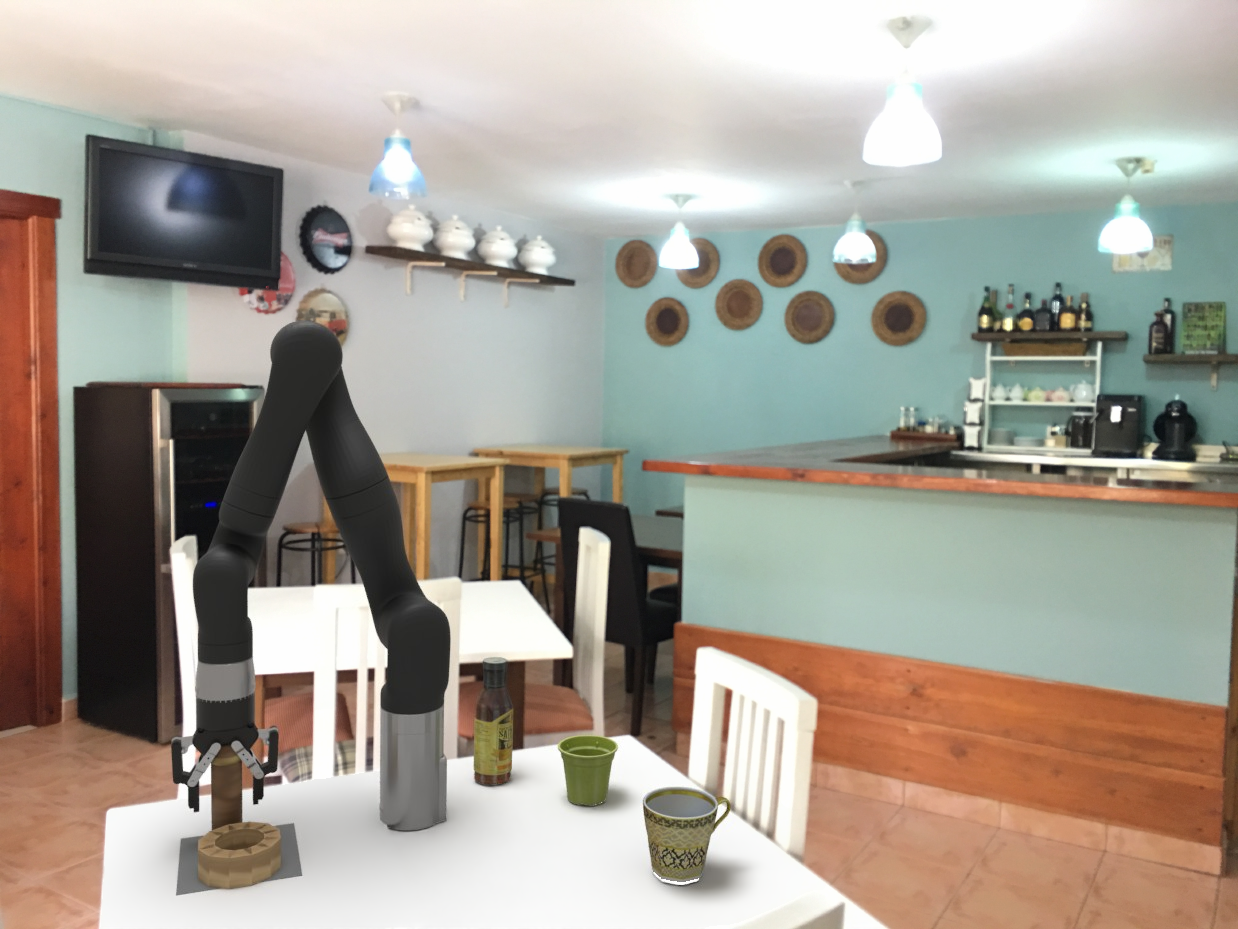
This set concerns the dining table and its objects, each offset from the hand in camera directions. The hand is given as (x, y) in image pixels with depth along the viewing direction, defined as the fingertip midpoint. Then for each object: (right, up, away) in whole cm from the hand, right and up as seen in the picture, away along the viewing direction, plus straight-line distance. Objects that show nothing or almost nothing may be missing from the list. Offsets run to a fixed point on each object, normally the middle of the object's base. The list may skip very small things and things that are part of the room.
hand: (226, 806), depth 137 cm
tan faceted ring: (+5, -6, -7) cm, 10 cm away
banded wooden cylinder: (0, -5, +1) cm, 5 cm away
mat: (+3, -6, -4) cm, 8 cm away
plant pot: (+49, -5, +18) cm, 53 cm away
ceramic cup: (+64, -8, -4) cm, 64 cm away
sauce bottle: (+34, -4, +25) cm, 42 cm away
